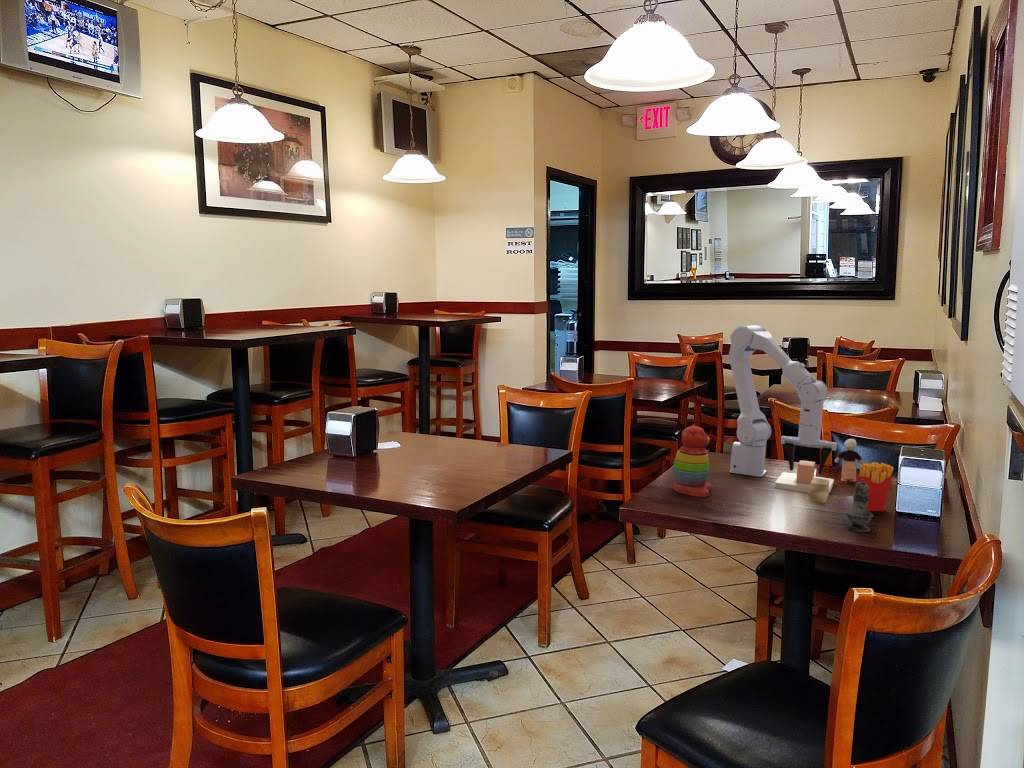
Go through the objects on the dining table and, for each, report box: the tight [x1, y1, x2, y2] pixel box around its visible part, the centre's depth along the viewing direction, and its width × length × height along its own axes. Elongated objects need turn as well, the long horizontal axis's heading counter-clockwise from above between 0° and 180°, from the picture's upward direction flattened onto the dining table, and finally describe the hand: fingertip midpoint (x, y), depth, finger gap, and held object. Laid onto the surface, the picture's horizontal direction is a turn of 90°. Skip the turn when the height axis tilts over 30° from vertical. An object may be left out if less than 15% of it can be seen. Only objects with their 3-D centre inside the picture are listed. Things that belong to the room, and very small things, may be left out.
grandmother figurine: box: [834, 438, 864, 482], centre depth 224 cm, size 8×4×13 cm, turn 84°
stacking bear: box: [672, 424, 713, 498], centre depth 207 cm, size 11×10×18 cm
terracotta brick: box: [796, 459, 816, 484], centre depth 217 cm, size 4×6×5 cm, turn 153°
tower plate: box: [774, 471, 835, 497], centre depth 218 cm, size 14×14×2 cm
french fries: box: [856, 461, 894, 512], centre depth 196 cm, size 8×4×12 cm, turn 94°
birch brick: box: [808, 478, 829, 504], centre depth 205 cm, size 4×6×5 cm, turn 152°
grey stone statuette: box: [845, 479, 874, 533], centre depth 181 cm, size 6×6×12 cm
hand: (805, 471), depth 217 cm, fingers open, 7 cm apart
